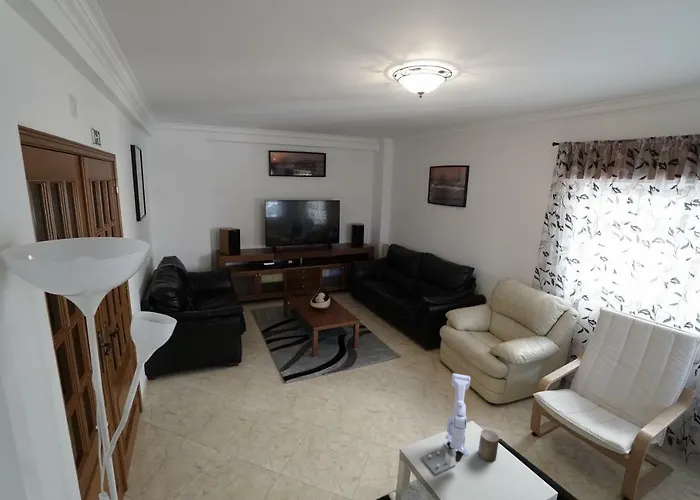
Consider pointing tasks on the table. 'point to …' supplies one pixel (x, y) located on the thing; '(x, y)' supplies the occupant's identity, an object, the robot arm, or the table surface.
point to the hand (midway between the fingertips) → (454, 457)
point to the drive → (452, 457)
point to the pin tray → (436, 462)
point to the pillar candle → (488, 445)
